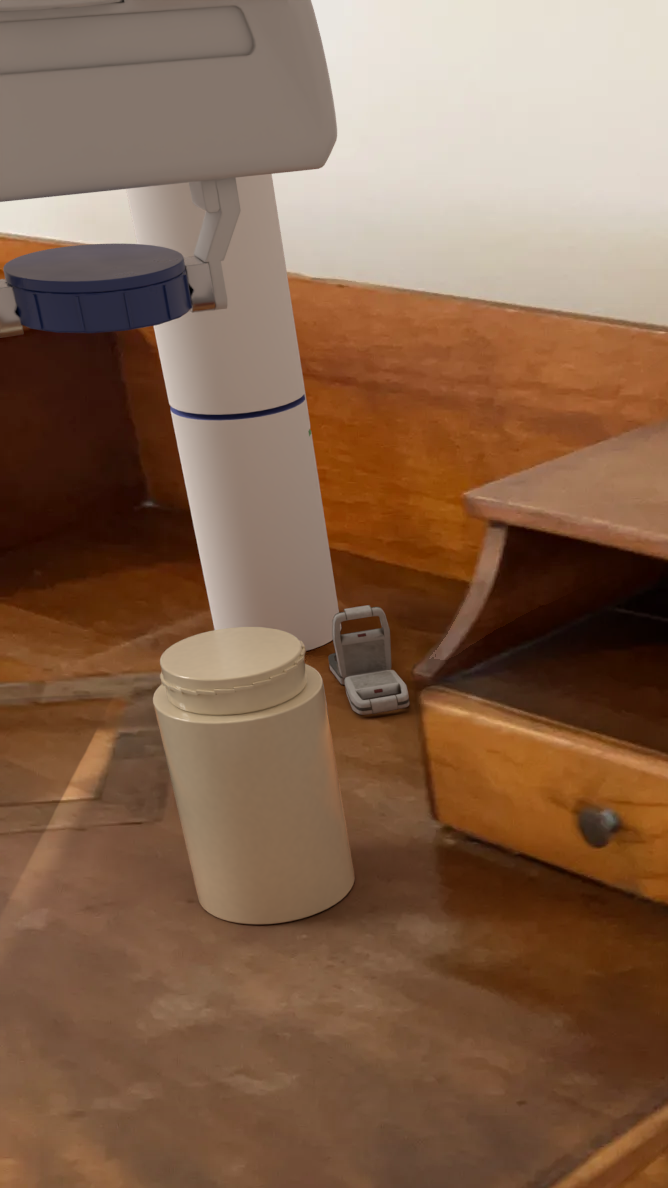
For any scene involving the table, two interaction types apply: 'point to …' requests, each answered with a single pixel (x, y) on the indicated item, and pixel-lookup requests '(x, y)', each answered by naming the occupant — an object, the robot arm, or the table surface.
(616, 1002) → the table surface
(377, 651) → the strap clip
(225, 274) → the cylindrical container
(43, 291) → the lid
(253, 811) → the jar
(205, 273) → the robot arm
